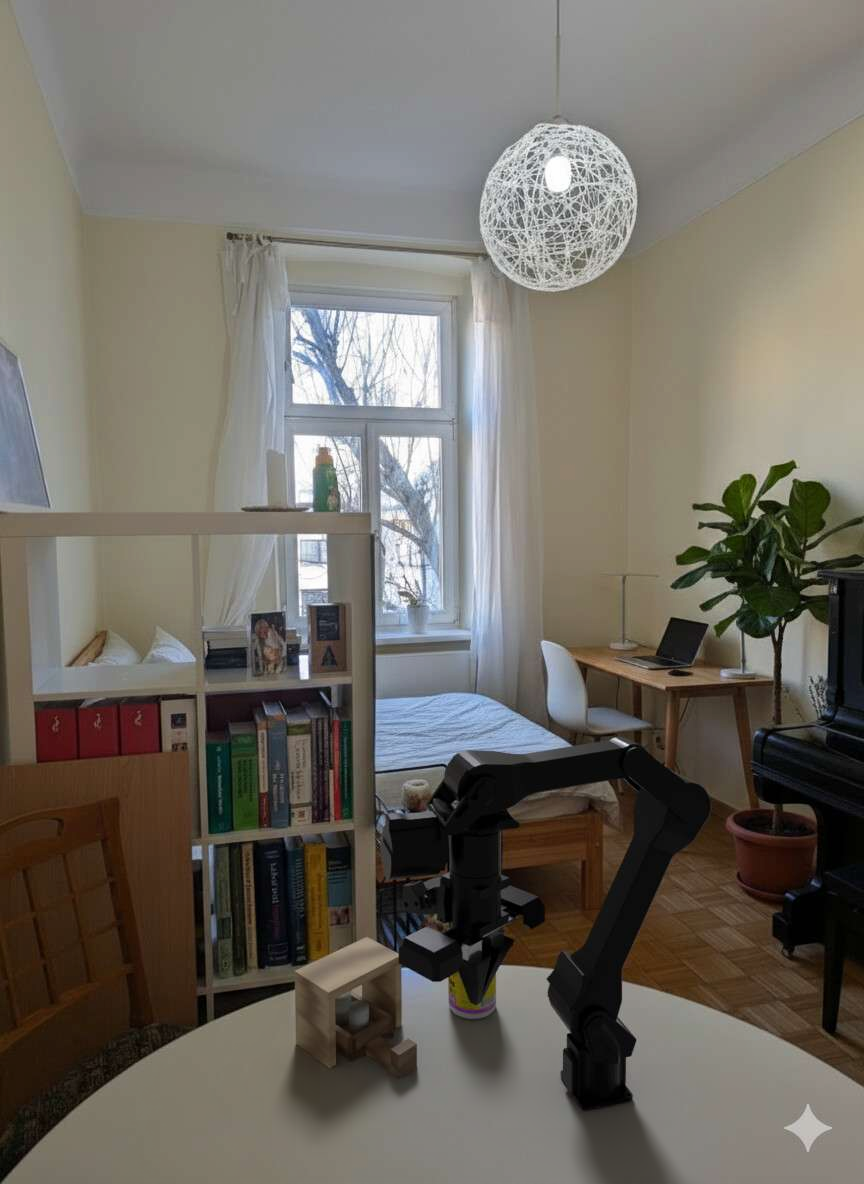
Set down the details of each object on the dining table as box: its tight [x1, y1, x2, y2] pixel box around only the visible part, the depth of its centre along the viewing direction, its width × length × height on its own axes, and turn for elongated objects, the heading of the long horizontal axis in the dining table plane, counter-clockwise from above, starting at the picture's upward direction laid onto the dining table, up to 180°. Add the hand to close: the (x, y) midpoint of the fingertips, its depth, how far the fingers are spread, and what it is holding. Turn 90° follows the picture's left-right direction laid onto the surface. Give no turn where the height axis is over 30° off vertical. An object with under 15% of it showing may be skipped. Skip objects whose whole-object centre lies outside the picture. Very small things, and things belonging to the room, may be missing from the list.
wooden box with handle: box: [335, 990, 418, 1080], centre depth 103 cm, size 16×7×5 cm, turn 46°
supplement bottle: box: [447, 972, 497, 1020], centre depth 110 cm, size 7×7×13 cm
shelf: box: [294, 936, 403, 1069], centre depth 105 cm, size 7×12×10 cm, turn 135°
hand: (475, 1002), depth 90 cm, fingers closed
